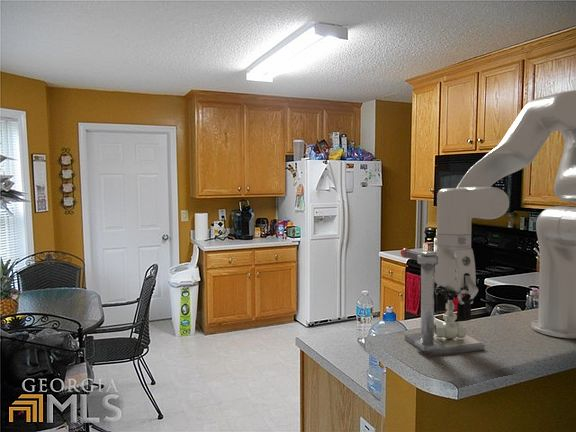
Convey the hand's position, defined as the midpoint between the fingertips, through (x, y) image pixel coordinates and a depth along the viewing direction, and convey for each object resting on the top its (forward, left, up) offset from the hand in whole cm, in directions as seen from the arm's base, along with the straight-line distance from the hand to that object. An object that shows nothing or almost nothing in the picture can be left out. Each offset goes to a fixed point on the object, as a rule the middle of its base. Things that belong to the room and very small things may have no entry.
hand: (452, 314), depth 105 cm
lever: (+9, -2, +13) cm, 16 cm away
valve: (+1, 0, -6) cm, 6 cm away
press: (+2, 0, -7) cm, 7 cm away
